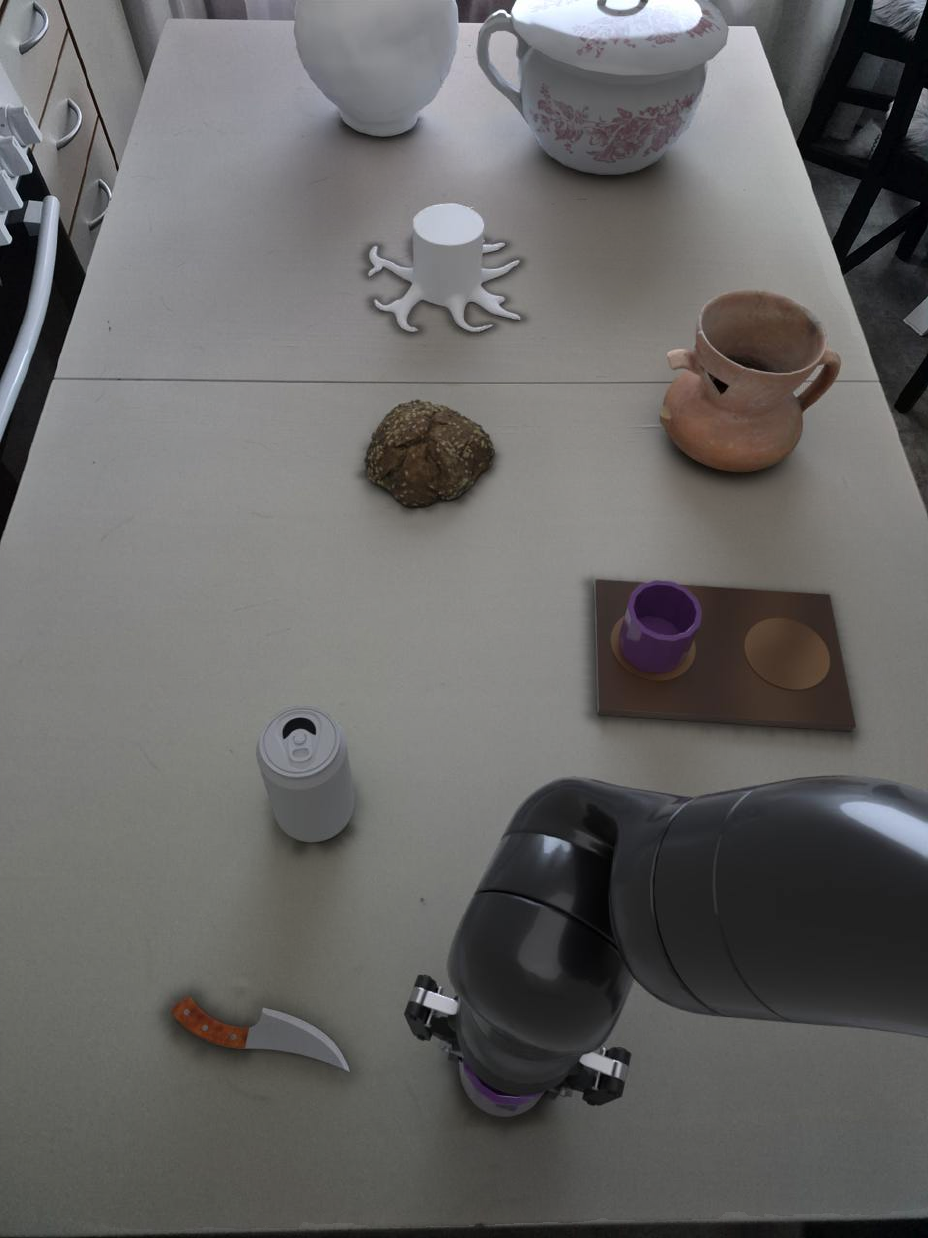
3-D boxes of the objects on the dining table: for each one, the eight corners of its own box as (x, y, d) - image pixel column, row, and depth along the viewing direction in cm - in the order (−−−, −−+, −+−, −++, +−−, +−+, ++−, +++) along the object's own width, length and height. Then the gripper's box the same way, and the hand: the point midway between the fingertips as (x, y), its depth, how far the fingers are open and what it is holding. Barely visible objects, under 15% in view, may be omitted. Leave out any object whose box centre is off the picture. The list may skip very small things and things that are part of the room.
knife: (360, 1029, 67) (348, 1074, 66) (360, 1031, 68) (349, 1076, 66) (179, 987, 68) (163, 1031, 67) (180, 989, 69) (165, 1033, 67)
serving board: (826, 600, 91) (830, 593, 90) (852, 731, 83) (856, 725, 82) (593, 584, 91) (595, 577, 90) (597, 715, 83) (599, 708, 82)
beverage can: (350, 766, 79) (340, 693, 70) (359, 840, 76) (349, 774, 66) (272, 777, 79) (251, 705, 69) (277, 852, 75) (255, 787, 65)
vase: (277, 123, 135) (244, -137, 110) (381, 68, 145) (373, -182, 120) (374, 174, 129) (363, -89, 104) (477, 113, 138) (488, -141, 114)
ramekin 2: (700, 662, 85) (715, 627, 81) (636, 682, 84) (648, 649, 79) (667, 607, 88) (680, 572, 84) (605, 626, 87) (615, 591, 83)
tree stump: (536, 246, 121) (543, 186, 114) (514, 347, 110) (519, 286, 103) (380, 225, 122) (378, 164, 116) (343, 322, 111) (338, 261, 105)
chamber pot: (736, 150, 135) (782, -14, 118) (615, 229, 123) (646, 60, 106) (583, 75, 146) (604, -85, 129) (457, 142, 134) (463, -24, 117)
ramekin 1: (563, 1095, 66) (573, 1082, 62) (477, 1132, 65) (481, 1121, 60) (528, 1006, 69) (535, 987, 65) (445, 1039, 68) (447, 1022, 63)
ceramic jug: (658, 488, 98) (690, 381, 87) (635, 390, 106) (661, 280, 95) (829, 485, 99) (884, 379, 88) (794, 388, 108) (839, 279, 96)
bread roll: (406, 403, 104) (406, 367, 100) (507, 446, 101) (510, 411, 97) (339, 477, 98) (336, 442, 94) (445, 526, 94) (445, 492, 90)
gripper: (377, 1029, 51) (387, 1083, 65) (640, 1130, 49) (592, 1163, 63) (426, 898, 55) (425, 975, 69) (671, 985, 53) (620, 1047, 67)
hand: (505, 1064), depth 66 cm, fingers closed on ramekin 1, 6 cm apart
